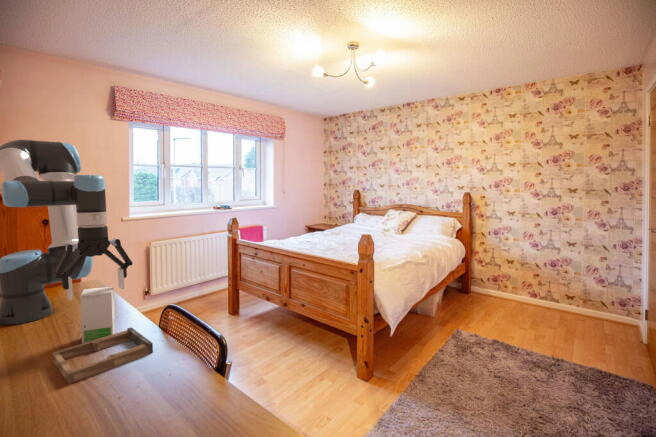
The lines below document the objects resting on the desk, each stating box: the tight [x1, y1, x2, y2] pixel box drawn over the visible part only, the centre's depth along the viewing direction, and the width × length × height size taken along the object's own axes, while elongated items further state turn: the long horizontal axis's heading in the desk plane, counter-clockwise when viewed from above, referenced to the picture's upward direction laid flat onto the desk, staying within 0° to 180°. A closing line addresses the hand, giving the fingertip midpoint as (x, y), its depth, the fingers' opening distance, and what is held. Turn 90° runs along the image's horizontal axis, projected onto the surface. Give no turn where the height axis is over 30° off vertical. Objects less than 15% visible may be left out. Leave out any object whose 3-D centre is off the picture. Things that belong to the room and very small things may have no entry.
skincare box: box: [80, 286, 116, 344], centre depth 105 cm, size 8×7×16 cm
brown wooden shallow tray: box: [51, 326, 154, 385], centre depth 95 cm, size 15×20×3 cm
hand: (97, 293), depth 104 cm, fingers open, 13 cm apart
